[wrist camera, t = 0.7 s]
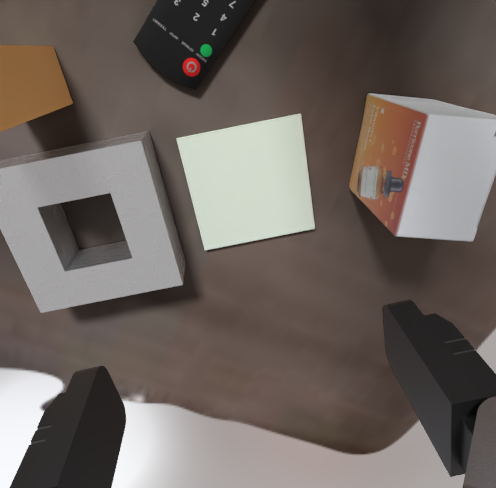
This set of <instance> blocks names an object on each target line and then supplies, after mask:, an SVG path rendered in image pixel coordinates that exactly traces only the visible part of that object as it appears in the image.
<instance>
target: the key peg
mask: <svg viewBox="0 0 496 488" xmlns="http://www.w3.org/2000/svg"><path fill="white" fill-rule="evenodd" d="M71 104H73V101H72V99H71V96H70V93H69V90H68V87H67V84H66V81H65V79H64V76H63V73H62V70H61V67H60V64H59V61H58V58H57V56H56V53H55V50H54V47H53V46H16V45H0V132H2V131H4V130H7V129H9V128H12V127H14V126H17V125H20V124H22V123H25V122H27V121H30V120H32V119H35V118H38V117H40V116H43V115H45V114H48V113H50V112H53V111H56V110H58V109H61V108H63V107H66V106H69V105H71Z"/></svg>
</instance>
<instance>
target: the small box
mask: <svg viewBox="0 0 496 488" xmlns="http://www.w3.org/2000/svg"><path fill="white" fill-rule="evenodd" d="M495 175H496V115H493V114H489V113H485V112H481V111H477V110H472V109H468V108H464V107H460V106H456V105H453V104H449V103H445V102H441V101H437V100H434V99H423V98H414V97H404V96H393V95H383V94H373V93H368V95H367V99H366V104H365V111H364V117H363V122H362V127H361V132H360V136H359V141H358V145H357V150H356V155H355V160H354V164H353V169H352V174H351V178H350V183H349V188H350V189H351V191H352V192H353V193H354V194H355V195H356V196H357V197H358V198H359V199H360V200H361V201H362V202H363V203H364V204H365V205H366V206H367V207H368V208H369V209H370V210H371V212H372V213H373V214H374V215H375V216H376V217H377V218H378V219H379V220H380V221H381V222H382V223H383V224H384V225H385V226H386V227H387V228H388V229H389V230H390V231H391V233H392V234H393V235H394V236H396V237H411V238H425V239H440V240H454V241H469V242H472V241H473V240H474V238H475V234H476V232H477V228H478V224H479V221H480V218H481V215H482V212H483V209H484V206H485V203H486V201H487V198H488V195H489V192H490V189H491V186H492V184H493V181H494V178H495Z"/></svg>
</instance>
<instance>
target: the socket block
mask: <svg viewBox="0 0 496 488" xmlns="http://www.w3.org/2000/svg"><path fill="white" fill-rule="evenodd" d="M108 193H111V196H112V199H113V202H114V205H115V208H116V211H117V214H118V217H119V220H120V223H121V226H122V229H123V231H124V234H125V237H126V241H121V242H116V243H111V244H106V245H101V246H95V247H90V248H85V249H80V250H79V247H78V245H77V242H76V240H75V237H74V235H73V232H72V230H71V227H70V225H69V222H68V220H67V217H66V215H65V212H64V210H63V207H62V205H61V203H63V202H68V201H73V200H78V199H83V198H88V197H93V196H98V195H103V194H108ZM0 229H1V231H2V233H3V235H4V237H5V240H6V242H7V244H8V246H9V248H10V250H11V252H12V254H13V256H14V258H15V260H16V262H17V264H18V267H19V269H20V271H21V273H22V275H23V277H24V279H25V281H26V283H27V285H28V287H29V289H30V292H31V294H32V296H33V298H34V300H35V302H36V304H37V306H38V308H39V310H40V312H41V313H43V312H48V311H53V310H58V309H63V308H68V307H73V306H78V305H83V304H88V303H94V302H99V301H104V300H109V299H114V298H119V297H124V296H129V295H134V294H139V293H144V292H149V291H154V290H160V289H165V288H170V287H175V286H180V285H183V281H184V273H185V265H186V261H185V258H184V254H183V251H182V247H181V243H180V240H179V236H178V233H177V229H176V226H175V222H174V218H173V215H172V211H171V208H170V204H169V201H168V197H167V193H166V190H165V186H164V183H163V179H162V176H161V172H160V168H159V165H158V161H157V158H156V154H155V151H154V147H153V143H152V140H151V136H150V133H149V131H144V132H139V133H134V134H129V135H124V136H119V137H114V138H109V139H104V140H99V141H94V142H89V143H84V144H79V145H74V146H69V147H64V148H59V149H54V150H49V151H44V152H39V153H34V154H29V155H24V156H19V157H14V158H9V159H4V160H0Z"/></svg>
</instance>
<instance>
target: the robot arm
mask: <svg viewBox="0 0 496 488" xmlns="http://www.w3.org/2000/svg"><path fill="white" fill-rule="evenodd" d="M383 324H384V337H385V349H386V354H387V358H388V361H389V364H390V366H391V368H392V370H393V372H394V374H395V376H396V378H397V380H398V382H399V383H400V385H401V387H402V389H403V391H404V392H405V394H406V396H407V398H408V400H409V402H410V403H411V405H412V407H413V409H414V411H415V413H416V414H417V416H418V418H419V420H420V422H421V424H422V425H423V427H424V429H425V431H426V433H427V434H428V436H429V438H430V440H431V442H432V444H433V446H434V447H435V449H436V451H437V453H438V455H439V456H440V458H441V460H442V462H443V464H444V466H445V468H446V469H447V471H448V473H449V475H450V476H456V475H461V474H465V479H464V484H463V488H496V374H495V373H494V372H493V370H492V369H491V368H490V367H489V366H488V365H487V363H486V362H485V361H484V360H483V359H482V358H481V356H480V355H479V354H478V353H477V352H476V351H474V349H473V347H472V346H471V345H470V343H469V342H468V341H467V340H465V339H464V336H463V335H462V334H461V333H460V332H459V331H458V329H457V328H456V327H455V326H454V325H453V323H451V322H449V321H447V320H446V319H444V318H442V317H440V316H439V315H437V314H430V315H426V316H424V315H423V314H422V313H421V311H420V310H419V309H418V307H417V306H416V305H415V303H414V302H413V301H412V300H406V301H401V302H397V303H392V304H388V305H384V306H383ZM125 423H126V414H125V408H124V404H123V402H122V400H121V398H120V395H119V393H118V391H117V389H116V387H115V385H114V383H113V381H112V379H111V377H110V375H109V372H108V371H107V369H106V368H105V367H104V366H98V367H94V368H89V369H85V370H80V371H76V372H75V373H74V374H73V376H72V379H71V381H70V383H69V386H68V388H67V390H66V392H65V393H61V394H59V395H58V396H57V397H56V398H55V399H54V400H53V402H52V403H51V404H50V405H49V406H48V407H47V409H46V410H45V412H44V414H43V416H42V418H41V421H40V423H39V425H38V430H37V431H36V432H35V434H34V436H33V438H32V440H31V445H29V447H28V449H27V451H26V453H25V456H24V458H23V460H22V462H21V465H20V467H19V469H18V471H17V473H16V475H15V478H14V480H13V482H12V484H11V486H10V488H111V486H112V481H113V477H114V473H115V468H116V464H117V460H118V455H119V451H120V447H121V442H122V437H123V434H124V429H125Z"/></svg>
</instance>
